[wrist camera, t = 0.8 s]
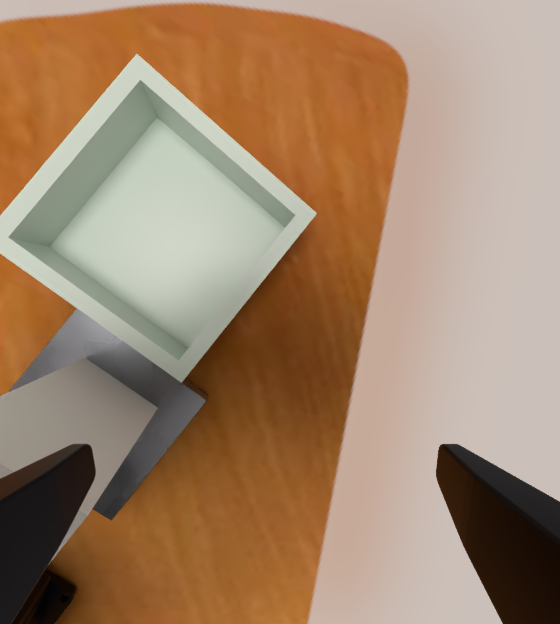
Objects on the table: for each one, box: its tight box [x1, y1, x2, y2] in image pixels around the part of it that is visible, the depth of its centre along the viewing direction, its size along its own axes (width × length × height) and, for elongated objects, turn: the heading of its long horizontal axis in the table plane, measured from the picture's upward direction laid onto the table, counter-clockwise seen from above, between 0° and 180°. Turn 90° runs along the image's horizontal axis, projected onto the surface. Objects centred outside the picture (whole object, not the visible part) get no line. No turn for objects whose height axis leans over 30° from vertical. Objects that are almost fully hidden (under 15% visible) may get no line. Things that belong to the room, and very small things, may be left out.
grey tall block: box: [0, 358, 158, 564], centre depth 14 cm, size 5×5×9 cm
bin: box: [0, 54, 317, 383], centre depth 17 cm, size 11×11×4 cm
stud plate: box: [9, 309, 208, 520], centre depth 17 cm, size 9×9×4 cm
